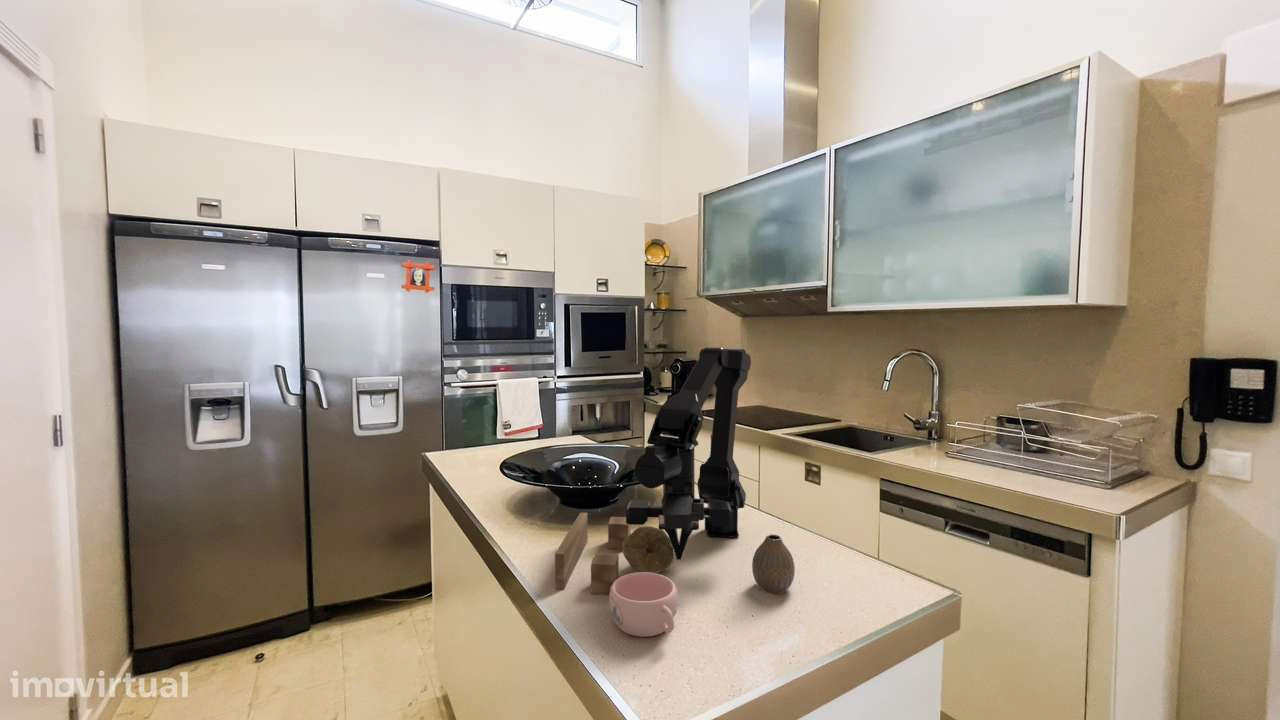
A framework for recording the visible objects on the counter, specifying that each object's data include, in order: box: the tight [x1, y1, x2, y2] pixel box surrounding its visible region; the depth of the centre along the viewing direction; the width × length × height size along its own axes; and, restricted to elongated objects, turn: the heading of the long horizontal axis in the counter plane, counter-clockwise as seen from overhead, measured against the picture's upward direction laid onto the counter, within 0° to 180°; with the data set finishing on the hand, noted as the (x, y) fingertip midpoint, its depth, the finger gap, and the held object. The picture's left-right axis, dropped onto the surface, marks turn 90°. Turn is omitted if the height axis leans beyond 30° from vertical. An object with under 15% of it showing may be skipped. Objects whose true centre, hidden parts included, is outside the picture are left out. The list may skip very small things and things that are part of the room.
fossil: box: [621, 525, 675, 574], centre depth 96 cm, size 9×4×10 cm
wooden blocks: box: [554, 512, 632, 596], centre depth 96 cm, size 10×22×6 cm, turn 174°
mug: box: [608, 572, 679, 638], centre depth 75 cm, size 12×10×6 cm
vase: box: [751, 534, 796, 595], centre depth 87 cm, size 7×7×9 cm
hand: (679, 559), depth 95 cm, fingers closed
